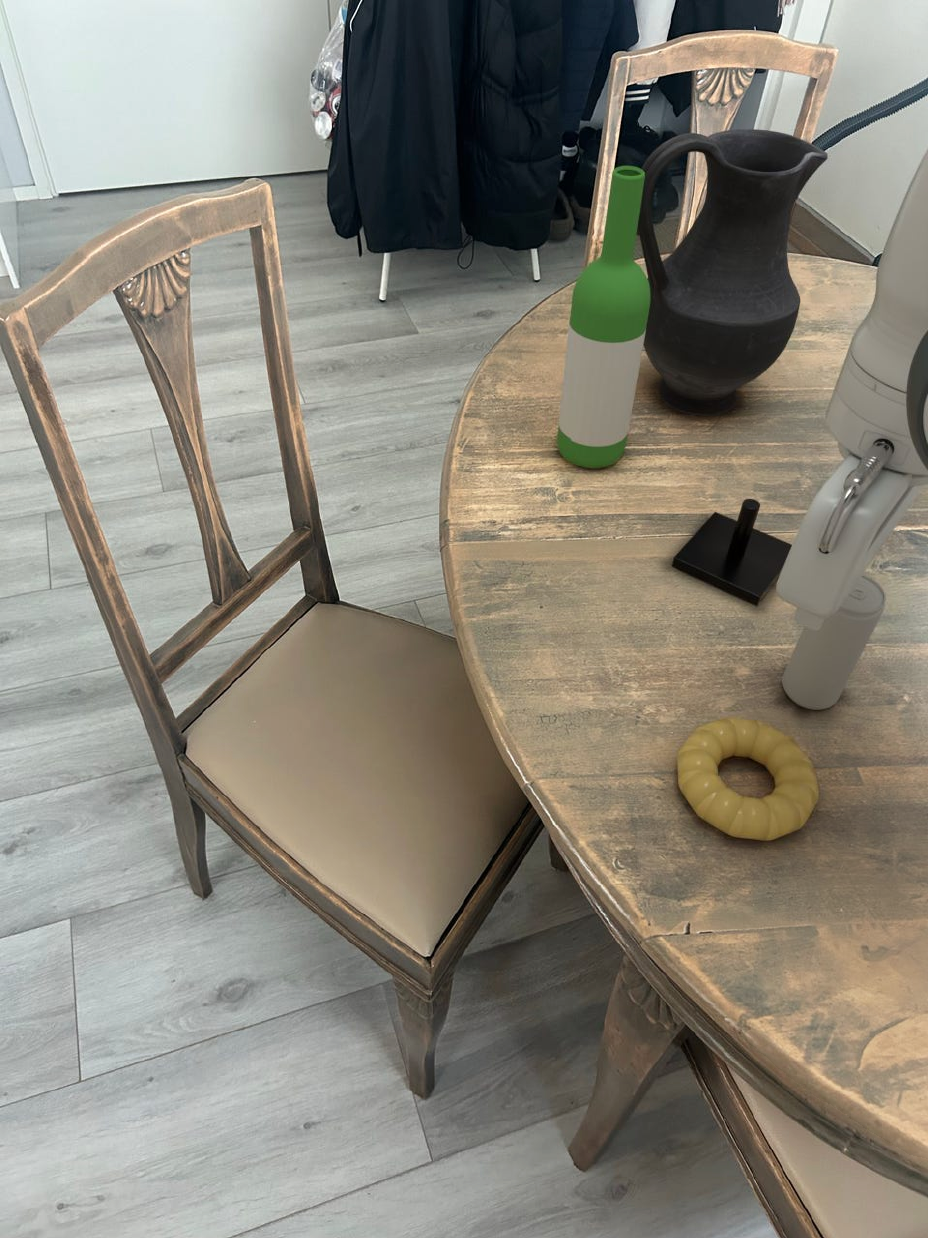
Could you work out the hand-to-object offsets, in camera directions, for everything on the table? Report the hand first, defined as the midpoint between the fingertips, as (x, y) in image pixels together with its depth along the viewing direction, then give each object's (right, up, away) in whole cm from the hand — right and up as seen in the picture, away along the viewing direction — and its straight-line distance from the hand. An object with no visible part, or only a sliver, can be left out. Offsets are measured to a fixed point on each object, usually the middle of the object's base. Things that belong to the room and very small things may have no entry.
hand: (837, 582), depth 60 cm
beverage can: (+4, -9, +15) cm, 18 cm away
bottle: (-11, +16, +39) cm, 44 cm away
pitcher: (+1, +25, +48) cm, 54 cm away
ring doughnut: (-4, -15, +7) cm, 17 cm away
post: (+1, +3, +27) cm, 27 cm away
